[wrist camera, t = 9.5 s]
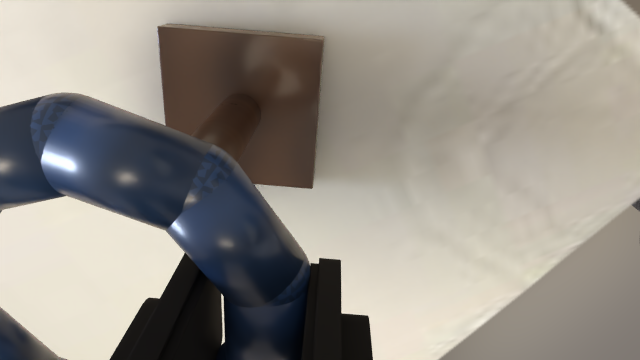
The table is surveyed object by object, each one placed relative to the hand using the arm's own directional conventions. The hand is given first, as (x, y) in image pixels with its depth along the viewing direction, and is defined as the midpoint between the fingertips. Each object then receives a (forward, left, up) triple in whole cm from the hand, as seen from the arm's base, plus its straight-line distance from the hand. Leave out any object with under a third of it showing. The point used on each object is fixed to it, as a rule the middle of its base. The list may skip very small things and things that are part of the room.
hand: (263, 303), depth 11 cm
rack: (+4, 0, -17) cm, 17 cm away
